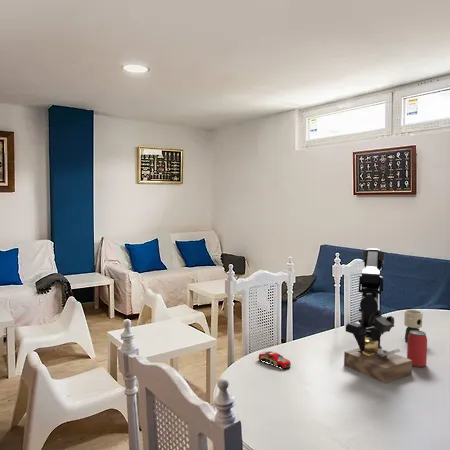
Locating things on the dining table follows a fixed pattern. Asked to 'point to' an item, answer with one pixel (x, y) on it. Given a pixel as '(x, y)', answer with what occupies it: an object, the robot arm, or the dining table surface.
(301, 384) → the dining table surface
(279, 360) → the race car
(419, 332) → the beer can
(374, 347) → the brass pin
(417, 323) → the character mug
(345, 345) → the dining table surface
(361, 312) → the robot arm
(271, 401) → the dining table surface
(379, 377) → the brown rectangular block
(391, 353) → the latch bar
